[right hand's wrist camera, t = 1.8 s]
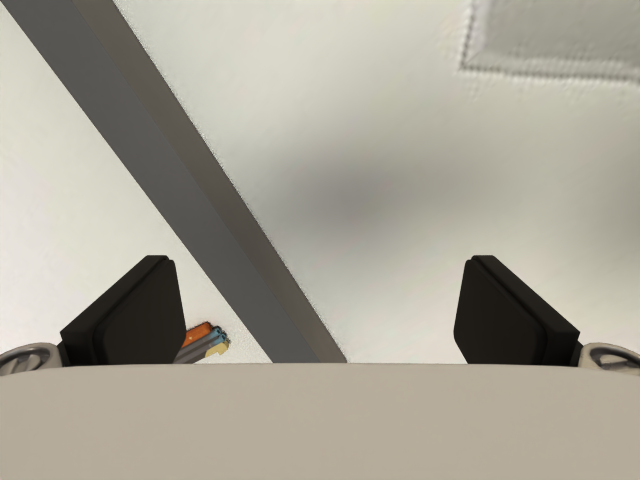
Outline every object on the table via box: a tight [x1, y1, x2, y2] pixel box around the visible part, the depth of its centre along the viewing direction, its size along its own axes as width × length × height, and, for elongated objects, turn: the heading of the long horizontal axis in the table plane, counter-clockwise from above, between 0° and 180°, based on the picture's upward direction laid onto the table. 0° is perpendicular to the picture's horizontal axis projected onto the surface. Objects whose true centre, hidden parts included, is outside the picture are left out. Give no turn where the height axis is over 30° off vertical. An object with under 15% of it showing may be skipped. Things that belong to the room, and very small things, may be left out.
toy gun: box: [172, 323, 229, 364], centre depth 43 cm, size 3×19×10 cm
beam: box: [0, 0, 347, 363], centre depth 31 cm, size 64×4×7 cm, turn 29°
